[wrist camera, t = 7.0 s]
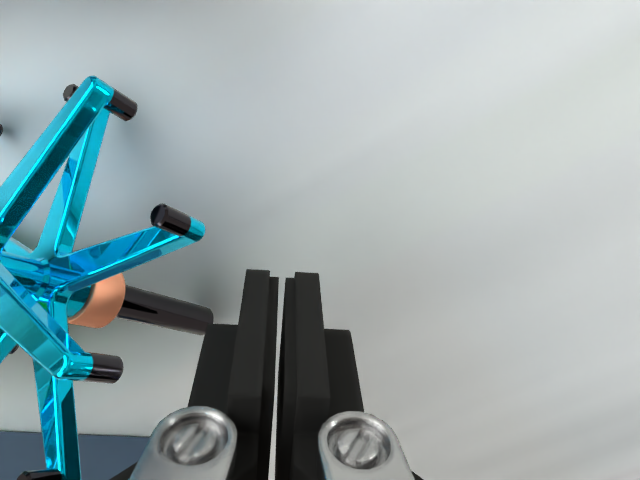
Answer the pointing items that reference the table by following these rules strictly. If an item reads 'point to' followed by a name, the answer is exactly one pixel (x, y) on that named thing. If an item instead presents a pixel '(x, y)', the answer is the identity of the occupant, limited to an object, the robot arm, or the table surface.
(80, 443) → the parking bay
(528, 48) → the table surface
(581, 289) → the table surface
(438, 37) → the table surface
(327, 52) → the table surface
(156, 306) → the stick construction toy
